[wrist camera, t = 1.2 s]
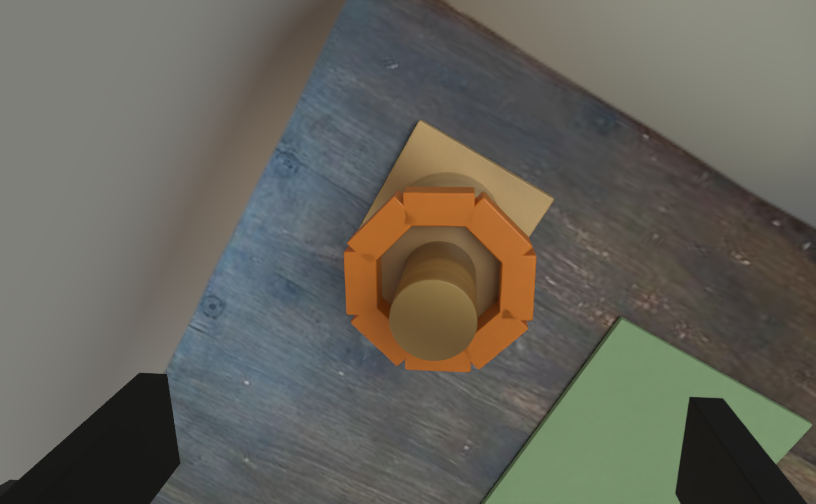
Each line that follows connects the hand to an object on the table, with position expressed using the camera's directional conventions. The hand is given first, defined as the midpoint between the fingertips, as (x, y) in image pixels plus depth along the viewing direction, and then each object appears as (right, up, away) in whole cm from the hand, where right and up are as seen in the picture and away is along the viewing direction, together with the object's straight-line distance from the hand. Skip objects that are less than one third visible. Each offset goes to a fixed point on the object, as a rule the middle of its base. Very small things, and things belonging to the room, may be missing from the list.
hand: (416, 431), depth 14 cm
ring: (+1, +3, +10) cm, 11 cm away
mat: (+14, -11, +24) cm, 30 cm away
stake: (+2, +6, +20) cm, 22 cm away
